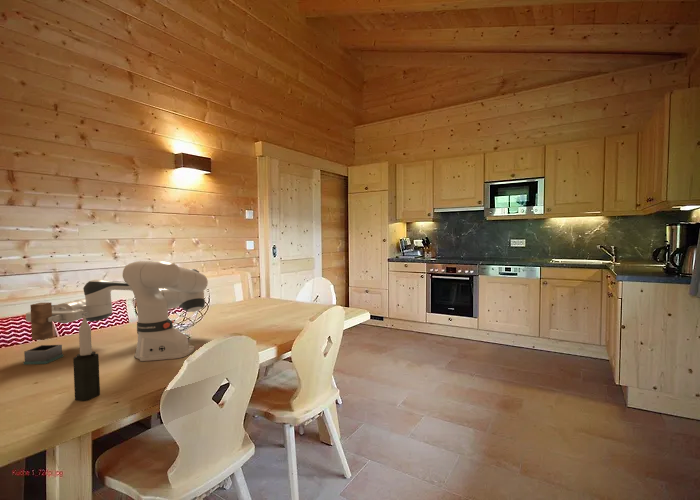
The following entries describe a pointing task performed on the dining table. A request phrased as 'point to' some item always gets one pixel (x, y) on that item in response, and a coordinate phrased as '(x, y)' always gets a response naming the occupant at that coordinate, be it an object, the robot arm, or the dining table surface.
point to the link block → (41, 321)
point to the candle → (86, 367)
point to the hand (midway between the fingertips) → (39, 320)
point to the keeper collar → (43, 354)
